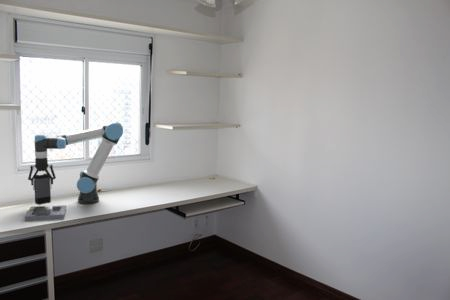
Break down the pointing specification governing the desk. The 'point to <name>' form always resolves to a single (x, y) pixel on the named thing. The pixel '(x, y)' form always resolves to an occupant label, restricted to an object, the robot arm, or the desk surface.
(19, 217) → the desk surface
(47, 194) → the electronic device
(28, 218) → the chassis
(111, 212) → the desk surface
